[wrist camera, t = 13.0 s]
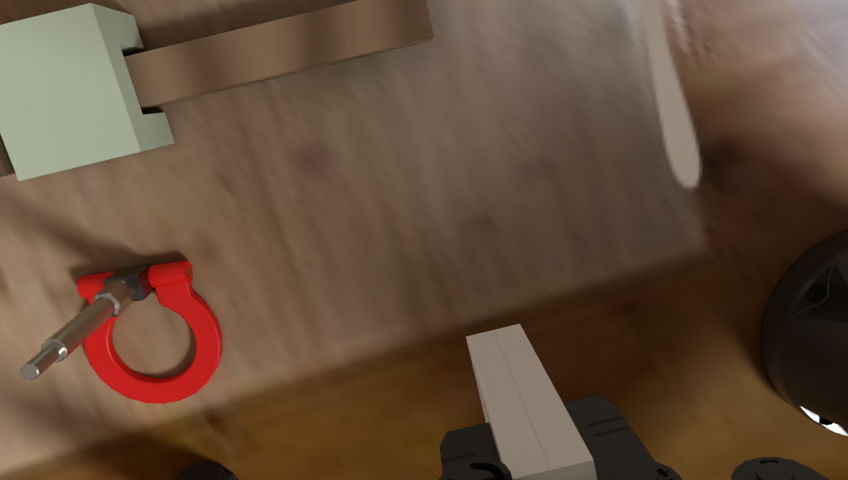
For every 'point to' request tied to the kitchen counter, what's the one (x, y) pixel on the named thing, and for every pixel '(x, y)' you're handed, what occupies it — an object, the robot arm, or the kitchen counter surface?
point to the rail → (270, 51)
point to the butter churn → (205, 472)
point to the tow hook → (105, 305)
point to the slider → (72, 91)
